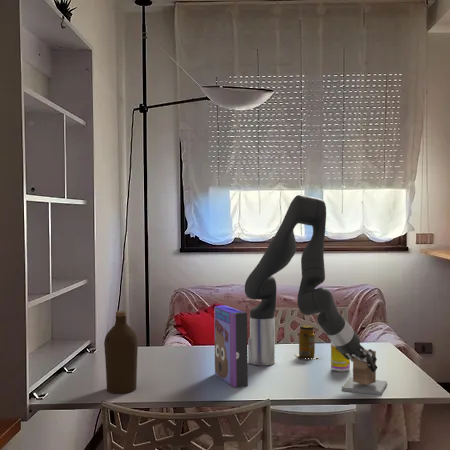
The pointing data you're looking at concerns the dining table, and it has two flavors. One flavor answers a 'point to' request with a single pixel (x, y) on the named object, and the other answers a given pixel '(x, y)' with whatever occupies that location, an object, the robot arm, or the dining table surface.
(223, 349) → the cereal box
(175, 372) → the dining table surface
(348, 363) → the supplement bottle
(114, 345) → the olive oil
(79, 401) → the dining table surface
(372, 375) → the walnut block
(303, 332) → the condiment
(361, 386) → the slate tile
